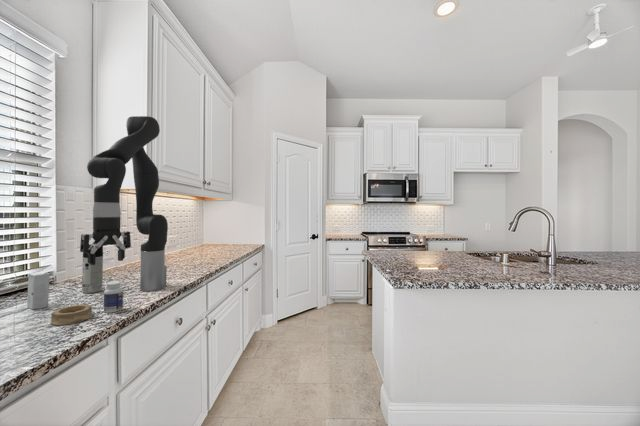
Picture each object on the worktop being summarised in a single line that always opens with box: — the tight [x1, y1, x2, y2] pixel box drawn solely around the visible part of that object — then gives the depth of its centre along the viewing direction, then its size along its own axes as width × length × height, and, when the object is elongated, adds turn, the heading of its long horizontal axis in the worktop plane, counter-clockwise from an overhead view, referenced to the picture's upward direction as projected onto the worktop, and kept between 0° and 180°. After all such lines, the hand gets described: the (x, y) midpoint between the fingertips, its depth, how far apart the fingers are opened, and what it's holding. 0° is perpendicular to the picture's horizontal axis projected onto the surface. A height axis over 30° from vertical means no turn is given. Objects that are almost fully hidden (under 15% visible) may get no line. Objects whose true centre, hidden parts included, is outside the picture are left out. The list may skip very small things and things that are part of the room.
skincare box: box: [26, 270, 51, 310], centre depth 99 cm, size 6×4×12 cm
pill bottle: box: [103, 281, 124, 314], centre depth 96 cm, size 5×5×10 cm
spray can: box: [81, 243, 104, 294], centre depth 118 cm, size 7×7×20 cm
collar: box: [50, 303, 93, 326], centre depth 89 cm, size 10×10×3 cm
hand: (106, 262), depth 95 cm, fingers open, 8 cm apart
